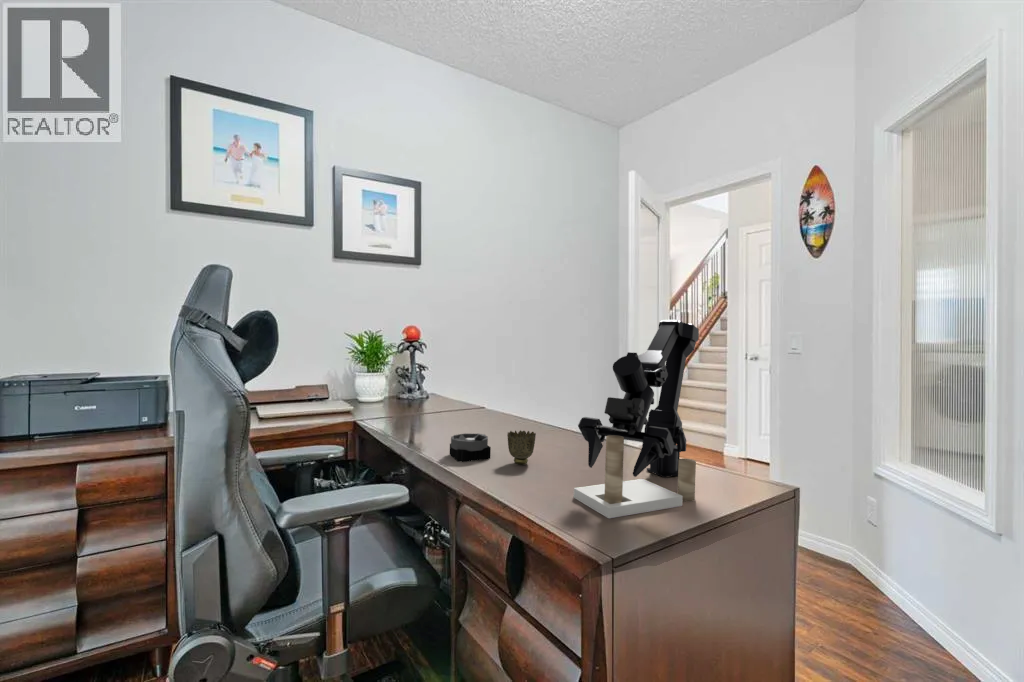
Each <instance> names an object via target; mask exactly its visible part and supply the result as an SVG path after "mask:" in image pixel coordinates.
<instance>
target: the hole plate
mask: <svg viewBox="0 0 1024 682" xmlns="http://www.w3.org/2000/svg"><path fill="white" fill-rule="evenodd" d="M604 497H605V483H602V484H601V483H600V484H594V485H587V486H580V487H573V499H575V500H577V501H579V502H580V503H582V504H584V505H585V506H587V507H589V508H590V509H592V510H594V511H595V512H597V513H599V514H601V515H602V516H603V517H605V518H607V519H613V518H619V517H625V516H630V515H636V514H642V513H647V512H648V513H649V512H655V511H659V510H660V511H661V510H667V509H672V508H679V507H683V500H682V498H683V496H682V495H679V494H678V492H674V491H672V490H670V489H668V488H665V487H663V486H661V485H658V484H656V483H654V482H652V481H649V480H646V479H644V478H638V479H631V480H623V489H622V503H615V504H609V503H607V502H605V501H604Z"/></svg>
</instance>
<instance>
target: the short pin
mask: <svg viewBox="0 0 1024 682" xmlns="http://www.w3.org/2000/svg"><path fill="white" fill-rule="evenodd" d="M696 467H697V461H696V460H694V459H692V458H679V465H678V476H677V494H679V495H682V496H683V498H682V502H694V501H695V500H696V498H695V497H696V469H697V468H696Z"/></svg>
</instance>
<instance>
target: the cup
mask: <svg viewBox="0 0 1024 682" xmlns="http://www.w3.org/2000/svg"><path fill="white" fill-rule="evenodd" d="M536 435H537V434H536V432H534V431H531V432H530V431H529V430H527V432H526V431H525V430H523V431H522V430H521V429H520V430H519V431H517V430H514V431H512V430H510V431H509V432H508V431H507V445H508V452H509V454H510V455H511V456H512V458H513V462H514V464H515V465H519V466H521V465H522V466H523V465H527V464H528V462H529V459H528V458H530V457H531V456H532V455H533V453H534V449H535V443H536Z"/></svg>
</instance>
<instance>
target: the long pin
mask: <svg viewBox="0 0 1024 682" xmlns="http://www.w3.org/2000/svg"><path fill="white" fill-rule="evenodd" d="M624 446H625V440H624V437H622V436H617V435H608V436H605V463H604V465H605V467H604V484H605V497H604V501H605V502H607V503H609V504H615V503H622V489H623V481H624V451H625V450H624V449H625V447H624Z"/></svg>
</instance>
